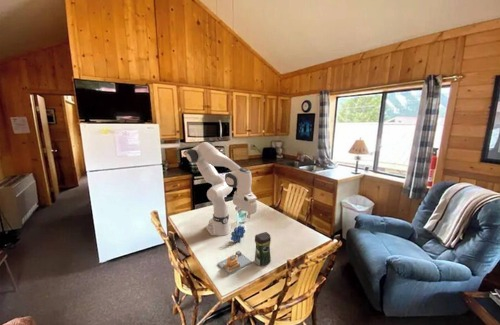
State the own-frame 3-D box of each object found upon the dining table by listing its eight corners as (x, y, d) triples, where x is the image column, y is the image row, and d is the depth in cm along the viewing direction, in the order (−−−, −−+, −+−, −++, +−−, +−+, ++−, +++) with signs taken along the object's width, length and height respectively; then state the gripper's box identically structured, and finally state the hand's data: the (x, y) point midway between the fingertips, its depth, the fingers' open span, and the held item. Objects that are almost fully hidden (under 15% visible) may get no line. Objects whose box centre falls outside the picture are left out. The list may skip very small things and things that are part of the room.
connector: (226, 264, 125) (227, 256, 123) (232, 262, 128) (233, 253, 125) (230, 269, 122) (231, 261, 120) (235, 266, 125) (237, 258, 122)
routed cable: (224, 260, 131) (224, 257, 130) (238, 253, 138) (238, 250, 137) (230, 265, 126) (229, 262, 125) (244, 258, 133) (244, 255, 132)
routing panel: (217, 264, 128) (217, 263, 128) (240, 253, 139) (240, 252, 139) (228, 275, 119) (228, 273, 119) (251, 262, 130) (251, 261, 130)
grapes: (242, 236, 160) (242, 221, 158) (246, 240, 154) (246, 225, 152) (228, 240, 154) (228, 225, 152) (232, 245, 148) (232, 229, 146)
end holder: (223, 266, 125) (222, 263, 124) (233, 261, 130) (233, 257, 129) (229, 273, 120) (229, 269, 119) (240, 267, 124) (240, 263, 124)
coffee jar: (264, 255, 137) (265, 229, 133) (272, 262, 130) (273, 234, 127) (252, 260, 132) (252, 233, 128) (259, 268, 125) (260, 239, 122)
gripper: (230, 190, 137) (230, 210, 139) (250, 200, 121) (249, 222, 124) (238, 188, 140) (238, 208, 143) (258, 198, 125) (257, 219, 128)
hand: (243, 215), depth 133 cm, fingers open, 8 cm apart
